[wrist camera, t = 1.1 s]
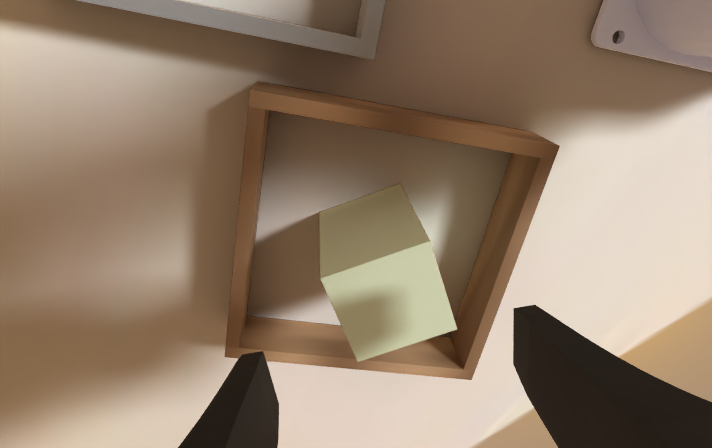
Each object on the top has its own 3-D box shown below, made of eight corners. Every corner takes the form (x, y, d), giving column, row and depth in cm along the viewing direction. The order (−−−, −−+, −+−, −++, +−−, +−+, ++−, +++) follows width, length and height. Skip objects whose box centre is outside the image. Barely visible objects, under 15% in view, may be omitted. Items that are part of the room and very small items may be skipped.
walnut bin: (532, 132, 20) (559, 145, 18) (457, 347, 25) (471, 379, 23) (258, 81, 18) (250, 89, 16) (233, 324, 23) (224, 356, 21)
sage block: (422, 254, 22) (457, 329, 17) (347, 280, 23) (357, 361, 17) (400, 183, 21) (430, 241, 15) (319, 212, 21) (320, 278, 16)
